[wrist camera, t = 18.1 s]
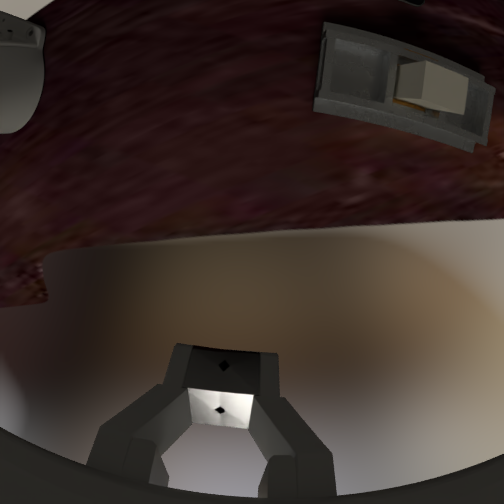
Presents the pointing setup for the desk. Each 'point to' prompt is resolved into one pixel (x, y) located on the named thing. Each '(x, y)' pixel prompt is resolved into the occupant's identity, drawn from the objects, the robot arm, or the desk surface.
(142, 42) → the desk surface
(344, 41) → the rack
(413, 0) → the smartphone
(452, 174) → the desk surface
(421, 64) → the block
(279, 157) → the desk surface
